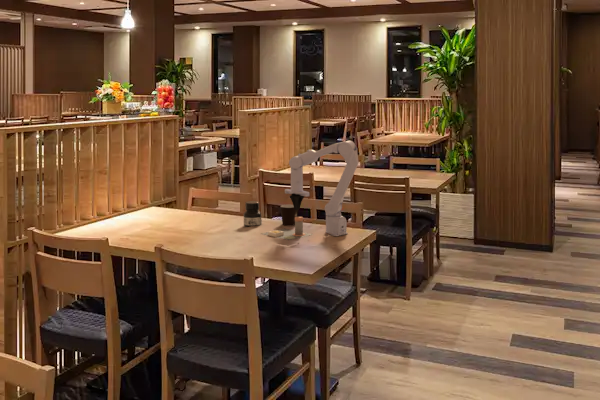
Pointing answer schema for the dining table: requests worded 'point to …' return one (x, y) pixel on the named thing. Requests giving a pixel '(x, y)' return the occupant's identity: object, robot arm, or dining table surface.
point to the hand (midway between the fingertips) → (297, 209)
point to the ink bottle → (252, 214)
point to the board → (286, 234)
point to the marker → (298, 225)
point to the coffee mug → (288, 215)
